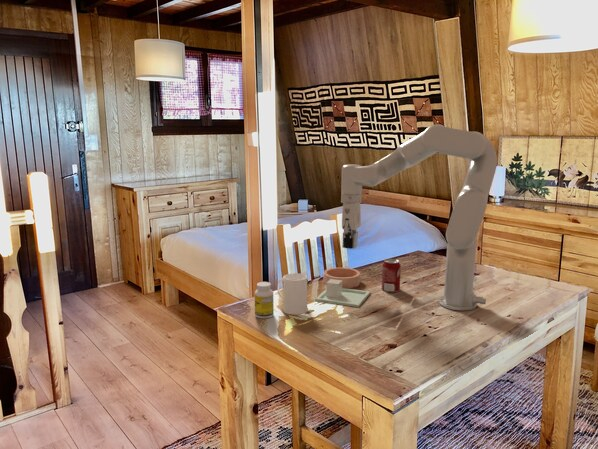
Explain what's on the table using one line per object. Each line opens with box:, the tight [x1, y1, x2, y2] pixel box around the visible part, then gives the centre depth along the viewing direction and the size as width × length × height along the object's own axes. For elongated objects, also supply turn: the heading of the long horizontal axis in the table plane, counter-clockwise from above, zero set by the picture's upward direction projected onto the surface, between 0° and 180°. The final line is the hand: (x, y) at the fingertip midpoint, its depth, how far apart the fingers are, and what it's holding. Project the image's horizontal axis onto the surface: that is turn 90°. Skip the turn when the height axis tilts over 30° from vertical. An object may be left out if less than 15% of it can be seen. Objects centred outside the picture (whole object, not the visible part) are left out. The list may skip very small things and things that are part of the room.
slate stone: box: [342, 230, 359, 249], centre depth 185 cm, size 4×4×6 cm
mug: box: [276, 272, 308, 316], centre depth 169 cm, size 12×8×12 cm
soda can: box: [381, 258, 402, 293], centre depth 188 cm, size 7×7×12 cm
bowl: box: [322, 267, 361, 289], centre depth 197 cm, size 14×14×4 cm
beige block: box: [325, 279, 342, 299], centre depth 182 cm, size 4×4×6 cm
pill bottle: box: [254, 281, 275, 319], centre depth 164 cm, size 6×6×11 cm
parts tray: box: [315, 288, 371, 308], centre depth 181 cm, size 16×15×1 cm
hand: (349, 246), depth 186 cm, fingers closed on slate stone, 4 cm apart
